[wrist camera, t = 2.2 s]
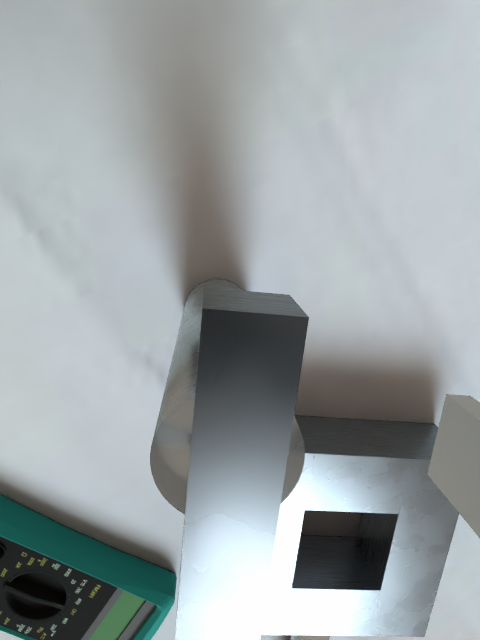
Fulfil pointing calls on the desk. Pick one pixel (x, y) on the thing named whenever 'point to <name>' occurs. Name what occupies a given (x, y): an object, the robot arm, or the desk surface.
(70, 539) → the digital multimeter
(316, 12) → the desk surface
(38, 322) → the desk surface
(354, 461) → the block
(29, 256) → the desk surface
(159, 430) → the t key
